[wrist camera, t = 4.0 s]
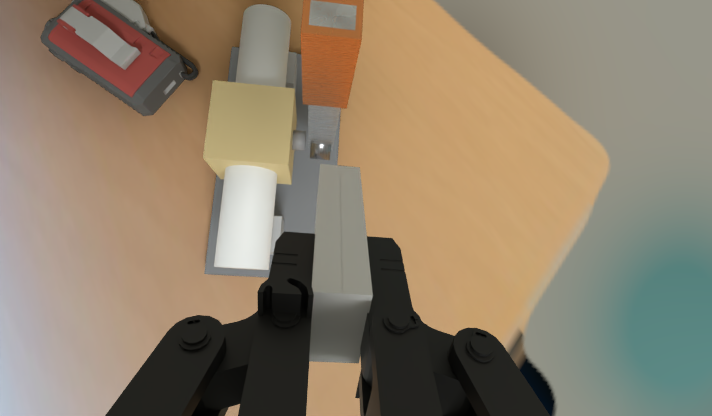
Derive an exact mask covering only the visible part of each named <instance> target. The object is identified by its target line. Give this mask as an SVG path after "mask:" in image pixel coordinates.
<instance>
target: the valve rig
mask: <svg viewBox="0 0 712 416" xmlns="http://www.w3.org/2000/svg"><path fill="white" fill-rule="evenodd" d="M290 31H291V20H290V18H289V17H288V15H287V14H286V13H285V12H283V11H282V10H280V9H278V8H276V7H273V6H270V5H264V4H257V5H252V6H250V7H248V8H247V9H246V10H245V11H244V14H243V22H242V31H241V39H240V47H232V51H231V59H230V67H229V75H228V82H227V81H217V80H213V84H212V91H211V99H210V107H209V115H208V123H207V130H206V138H205V146H204V154H203V158H204V160H205V161H206V162H207V163H208V164H209V166H210V167H211V168H212V169H213V171H214V172H215V173H216V183H215V191H214V199H213V207H212V216H211V224H210V232H209V240H208V249H207V257H206V265H205V273H204V274H212V275H231V276H250V277H269V273H270V268H271V264H272V258H273V253H274V248H275V243H276V240H277V239H278V238H279V237H280V236H281V235H282V233H283V232H284V231H285V232H299V233H313V234H314V233H315V220H316V208H317V196H318V184H319V173H320V164H327V165H337V159H338V143H339V127H340V114H339V119H338V125H337V130H336V135H335V140H334V146H333V150H331V152H330V160H321V159H310V148H308V105H305V104H303V94H302V56H301V54H296V53H295V52H289V42H290ZM340 111H341V109H340Z"/></svg>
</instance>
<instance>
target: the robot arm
mask: <svg viewBox="0 0 712 416" xmlns="http://www.w3.org/2000/svg"><path fill="white" fill-rule="evenodd" d="M404 270H405V269H404V264H403V259H402V255H401V250H400V248H399V247H398V245H397V244H396V243H395V241H394V240H393V239H392V238H381V237H368V236H367V234H366V224H365V215H364V205H363V195H362V185H361V176H360V167H349V166H338V165H327V164H320V173H319V184H318V196H317V208H316V220H315V233H314V234H313V233H299V232H285V231H284V232H283V233H282V235H281V236H280V237H279V238H278V239H277V240H276V243H275V248H274V253H273V258H272V264H271V268H270V273H269V278H268V280H266V281H265V282H264V283H263V284H261V286H260V288H259V290H258V311H257V312H256V313H255V314H253V315H252V316H250V317H248V318H246V319H244V320H241V321H238V322H234V323H229V324H224V325H222V324H221V323H220V322H219V321H218V320H217V319H215V318H212V317H210V316H202V315H197V316H192V317H187V318H185V319H183V320H181V321H179V322H177V323H176V324H175V325H174V326H173V327H172V328H171V329H170V330H169V331H168V332H167V333H166V335H165V336H164V337H163V339H162V340H161V341H160V343H159V344H158V345H157V347H156V348H155V349H154V351H153V352H152V353H151V355H150V356H149V358H148V359H147V360H146V362H145V363H144V364H143V366H142V367H141V368H140V370H139V371H138V372H137V374H136V375H135V376H134V378H133V379H132V380H131V382H130V383H129V384H128V386H127V387H126V389H125V390H124V391H123V393H122V394H121V395H120V397H119V398H118V399H117V401H116V402H115V403H114V405H113V406H112V407H111V409H110V410H109V411H108V413H107V414H106V415H105V416H225V414H226V412H227V410H228V407H231V406H234V405H237V404H240V409H239V414H238V416H306V405H307V388H308V371H309V361H316V362H341V363H359V359H360V354H361V373H360V377H359V382H358V387H357V392H356V397H355V398H360V415H361V416H550V415H549V414H548V412H547V411H546V409H545V408H544V406H543V405H542V403H541V402H540V400H539V399H538V397H537V396H536V394H535V393H534V391H533V390H532V388H531V387H530V385H529V384H528V382H527V381H526V379H525V378H524V376H523V375H522V373H521V372H520V370H519V369H518V367H517V366H516V364H515V363H514V361H513V360H512V358H511V357H510V355H509V354H508V352H507V351H506V349H505V348H504V346H503V345H502V344H501V343H500V342H499V341H498V339H497V338H496V337H494V336H493V335H491V334H490V333H488V332H487V331H484V330H481V329H478V328H465V329H463V330H460V331H459V332H458V333H457V334H456V335H455V336H453V335H450V334H447V333H444V332H441V331H438V330H435V329H433V328H431V327H429V326H427V325H426V324H424V323H423V322H422V321H421V319H420V317H419V315H418V314H417V313H416V312H415V311H414V310H413V307H412V303H411V299H410V294H409V289H408V284H407V279H406V274H405V272H404Z"/></svg>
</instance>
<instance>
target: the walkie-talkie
mask: <svg viewBox="0 0 712 416" xmlns="http://www.w3.org/2000/svg"><path fill="white" fill-rule="evenodd" d="M41 41H42V43H43V44H44V45H46V46H47V47H48V48H49V51H50V52H51V53H52V54H53V55H54V56H56V57H57V58H59V59H60V60H61V61H65V62H66V63H67V64H68V65H70V66H71V67H72V68H73V69H74V70H76V71H77V72H79V73H82V74H84V75H85V76H87V77H88V78H89V79H91V80H92V81H95V82H96V83H97V84H99V85H100V86H101V87H102V88H104V89H105V90H107V91H109V92H110V93H111V94H113V95H114V96H115V97H118V98H119V99H120V100H122V101H123V102H124V103H125V104H127V105H128V106H130V107H132V108H133V109H134V110H136V111H137V112H138V113H141V114H142V115H143V116H147V115H153V114H154V113H155V112H156V111H157V110H158V109H159V108H160V107H161V105H162V104H163V103H164V102H165V101H166V100H167V99H168V98H169V96H170V95H171V94H172V93H173V92H174V91H175V90H176V89H177V87H178V86H179V85H180V84H181V83H182V82H183V81H184V80H185V79H186V80H193V79H195V78H196V77H197V76H198V70H197V68H196V67H195V65H194V64H193V63H192V62H190V61H189V60H187V59H186V58H184V57H183V56H182V55H180V54H179V53H177V52H176V51H174V50H173V49H171V48H170V47H169V46H167V45H166V44H164V43H163V42H162V41H160V40H159V38H158V37H157V34H156V32H155V31H154V29H153V28H152V27H151V26H150V24H149V21H148V18H147V15H146V14H145V12H144V10H143V9H142V7H141V5H139V4H138V3H136V2H135V1H133V0H73V1H72V3H71V4H70V5H69V6H68V7H67V8H66V9H65V10H64V11H63V12H62V13H61V14H60V15H59V16H58V17H57V18H52V19H50V20H49V21H48V22H47V23H46V25H45V28H44V31H43V33H42V35H41ZM184 63H185V64H186V65H187V66H189V67H190V68H192V69H193V72H192V73H191V74H187V68H186V66H185V64H184ZM95 77H96V78H95Z"/></svg>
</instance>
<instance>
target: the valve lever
mask: <svg viewBox="0 0 712 416" xmlns="http://www.w3.org/2000/svg"><path fill="white" fill-rule="evenodd" d="M363 5H364V0H304V2H303V14H302V25H301V56H302V94H303V104H305V105H308V148H310V159H321V160H330V152H331V150H333V146H334V140H335V135H336V130H337V125H338V119H339V114H340V109H341V108H347V103H348V99H349V94H350V90H351V85H352V81H353V76H354V72H355V67H356V63H357V58H358V54H359V49H360V45H361V40H362V23H363Z"/></svg>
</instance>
